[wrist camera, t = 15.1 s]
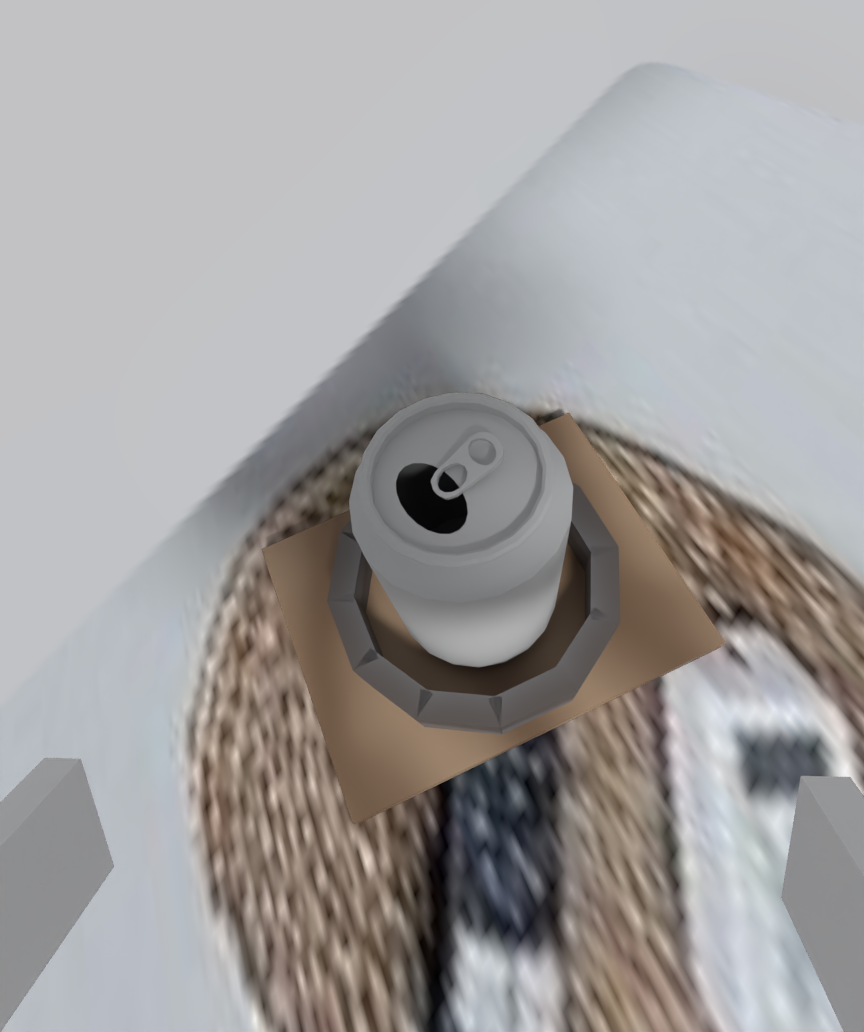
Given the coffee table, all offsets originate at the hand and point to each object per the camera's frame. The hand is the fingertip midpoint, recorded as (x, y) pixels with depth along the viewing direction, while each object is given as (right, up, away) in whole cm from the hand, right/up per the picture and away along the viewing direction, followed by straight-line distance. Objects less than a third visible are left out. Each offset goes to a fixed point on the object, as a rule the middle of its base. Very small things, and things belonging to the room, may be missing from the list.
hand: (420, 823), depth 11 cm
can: (+2, +2, +19) cm, 19 cm away
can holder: (+2, +2, +19) cm, 19 cm away
